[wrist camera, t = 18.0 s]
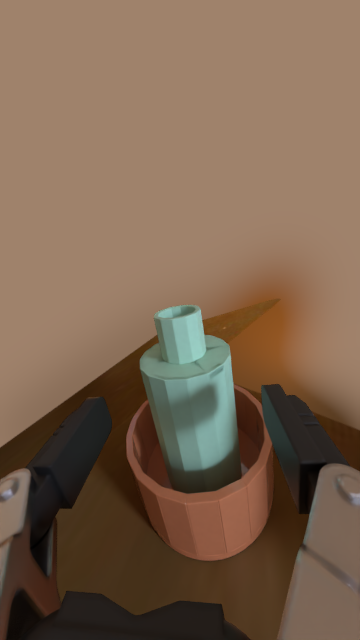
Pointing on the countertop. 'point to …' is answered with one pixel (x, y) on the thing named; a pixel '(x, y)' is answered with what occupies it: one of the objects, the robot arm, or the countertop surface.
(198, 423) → the bottle
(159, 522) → the terracotta bowl
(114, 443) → the countertop surface
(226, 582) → the countertop surface
